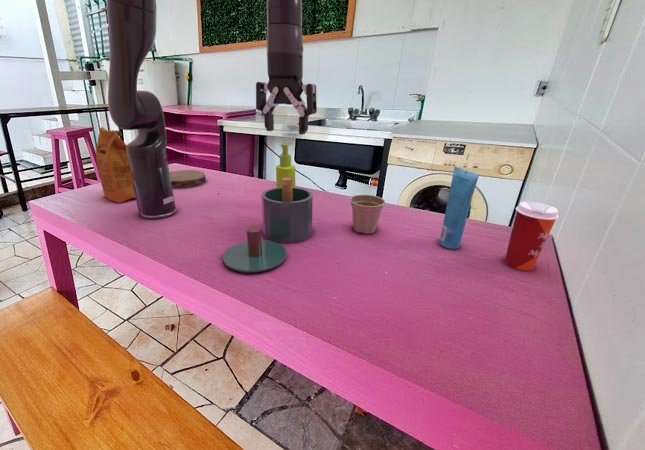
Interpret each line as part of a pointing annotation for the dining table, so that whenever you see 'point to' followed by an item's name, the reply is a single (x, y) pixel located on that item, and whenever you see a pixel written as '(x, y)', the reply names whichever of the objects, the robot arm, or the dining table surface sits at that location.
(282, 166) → the soap dispenser
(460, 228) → the tube
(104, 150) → the coffee package
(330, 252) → the dining table surface
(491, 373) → the dining table surface
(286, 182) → the wooden pestle
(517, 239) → the paper cup
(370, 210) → the flower pot
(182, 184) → the brown round disc
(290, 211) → the canister
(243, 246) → the lid
